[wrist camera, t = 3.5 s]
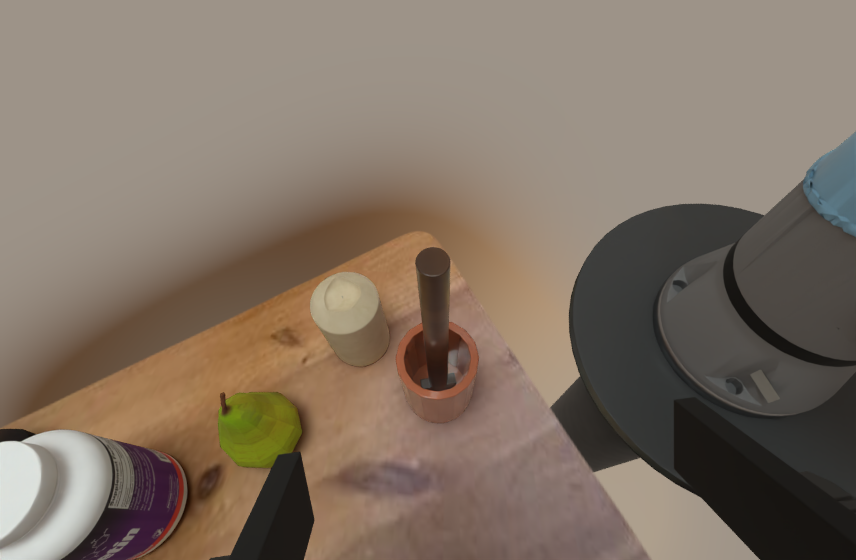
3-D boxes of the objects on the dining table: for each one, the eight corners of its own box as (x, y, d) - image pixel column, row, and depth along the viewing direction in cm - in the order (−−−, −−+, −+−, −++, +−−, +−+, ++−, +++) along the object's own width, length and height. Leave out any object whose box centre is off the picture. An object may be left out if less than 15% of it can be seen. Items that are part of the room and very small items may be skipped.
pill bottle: (90, 575, 34) (-117, 609, 22) (96, 468, 38) (-79, 444, 25) (196, 540, 35) (56, 552, 23) (191, 439, 39) (69, 401, 26)
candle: (331, 319, 44) (302, 269, 35) (385, 309, 44) (371, 257, 36) (336, 372, 41) (307, 333, 33) (394, 361, 42) (380, 318, 33)
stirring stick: (452, 375, 40) (460, 241, 21) (456, 392, 39) (468, 270, 20) (420, 381, 40) (397, 253, 21) (423, 399, 39) (403, 282, 20)
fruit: (223, 458, 38) (139, 435, 28) (258, 389, 41) (193, 345, 30) (290, 483, 37) (229, 469, 26) (321, 411, 40) (276, 372, 29)
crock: (462, 352, 42) (467, 313, 34) (478, 415, 39) (487, 389, 31) (400, 364, 42) (390, 328, 34) (412, 429, 39) (404, 407, 31)
